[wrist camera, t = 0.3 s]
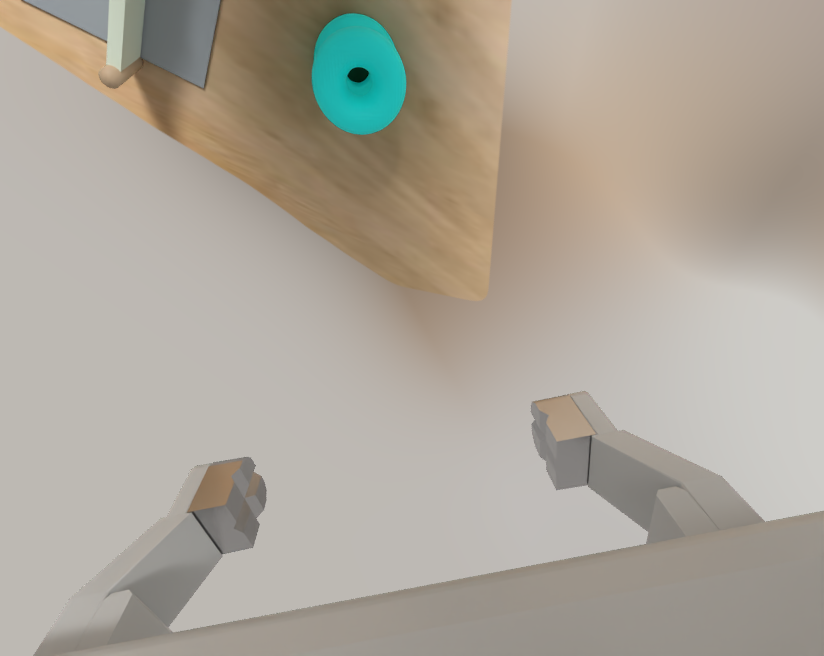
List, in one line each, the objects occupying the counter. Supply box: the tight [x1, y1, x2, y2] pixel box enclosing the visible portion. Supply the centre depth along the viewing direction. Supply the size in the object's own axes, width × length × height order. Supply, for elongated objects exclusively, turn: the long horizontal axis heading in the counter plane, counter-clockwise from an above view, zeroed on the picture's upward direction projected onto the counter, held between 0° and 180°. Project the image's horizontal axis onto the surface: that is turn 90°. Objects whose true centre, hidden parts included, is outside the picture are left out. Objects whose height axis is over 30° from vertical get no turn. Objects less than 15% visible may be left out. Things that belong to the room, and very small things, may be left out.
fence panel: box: [98, 0, 145, 89], centre depth 39 cm, size 9×2×7 cm, turn 149°
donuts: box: [312, 13, 406, 135], centre depth 44 cm, size 10×10×10 cm
